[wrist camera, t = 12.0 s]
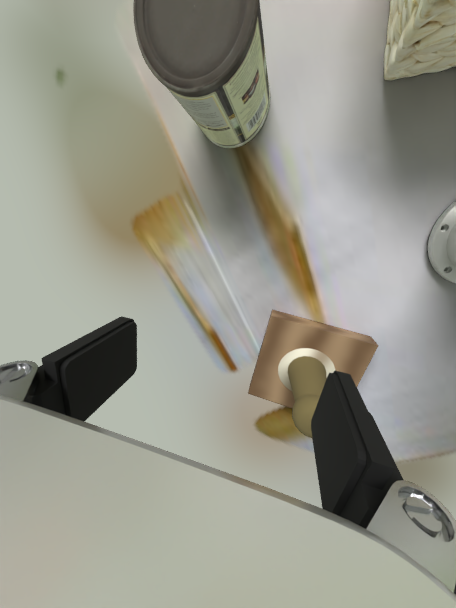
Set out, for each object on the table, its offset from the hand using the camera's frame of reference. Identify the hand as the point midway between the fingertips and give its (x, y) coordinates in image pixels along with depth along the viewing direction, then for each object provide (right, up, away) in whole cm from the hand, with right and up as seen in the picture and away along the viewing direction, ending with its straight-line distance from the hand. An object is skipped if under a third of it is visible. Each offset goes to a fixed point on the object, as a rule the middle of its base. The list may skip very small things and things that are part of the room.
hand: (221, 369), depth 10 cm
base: (+14, -7, +29) cm, 33 cm away
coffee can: (+1, +30, +20) cm, 36 cm away
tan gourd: (+13, -8, +26) cm, 30 cm away
